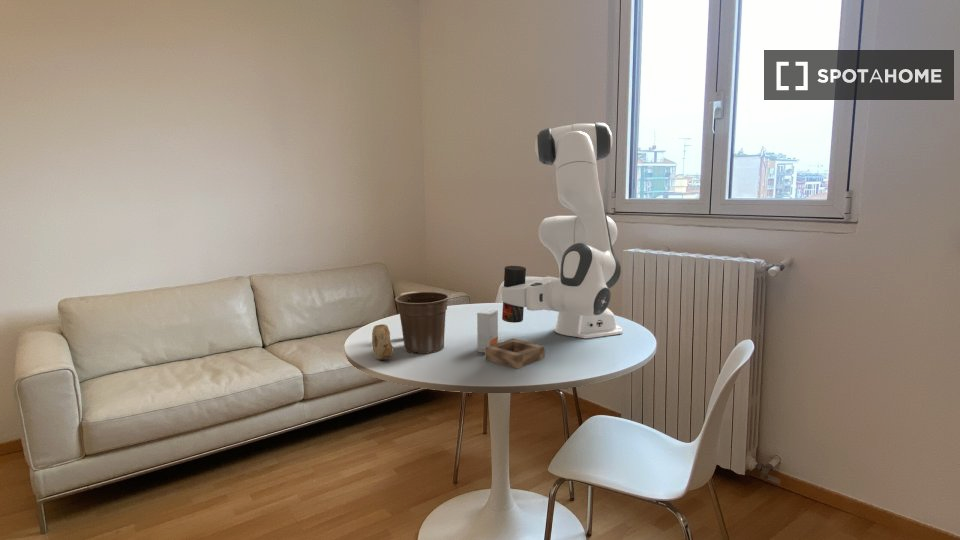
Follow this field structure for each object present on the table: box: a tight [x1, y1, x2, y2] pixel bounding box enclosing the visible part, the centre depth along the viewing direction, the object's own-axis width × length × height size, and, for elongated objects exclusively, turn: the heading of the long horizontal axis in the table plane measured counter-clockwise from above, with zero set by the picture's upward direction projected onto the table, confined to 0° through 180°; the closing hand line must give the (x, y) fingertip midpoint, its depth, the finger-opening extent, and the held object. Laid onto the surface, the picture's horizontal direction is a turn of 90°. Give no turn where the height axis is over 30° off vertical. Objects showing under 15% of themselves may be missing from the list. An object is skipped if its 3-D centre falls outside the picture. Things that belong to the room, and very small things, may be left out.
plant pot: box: [394, 291, 450, 355], centre depth 166 cm, size 16×16×16 cm
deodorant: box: [501, 265, 527, 324], centre depth 153 cm, size 6×6×15 cm
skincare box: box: [476, 308, 499, 353], centre depth 163 cm, size 6×4×12 cm
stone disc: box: [371, 323, 394, 361], centre depth 156 cm, size 10×4×10 cm, turn 29°
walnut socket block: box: [484, 338, 546, 369], centre depth 155 cm, size 12×12×4 cm
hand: (511, 287), depth 153 cm, fingers closed on deodorant, 6 cm apart
